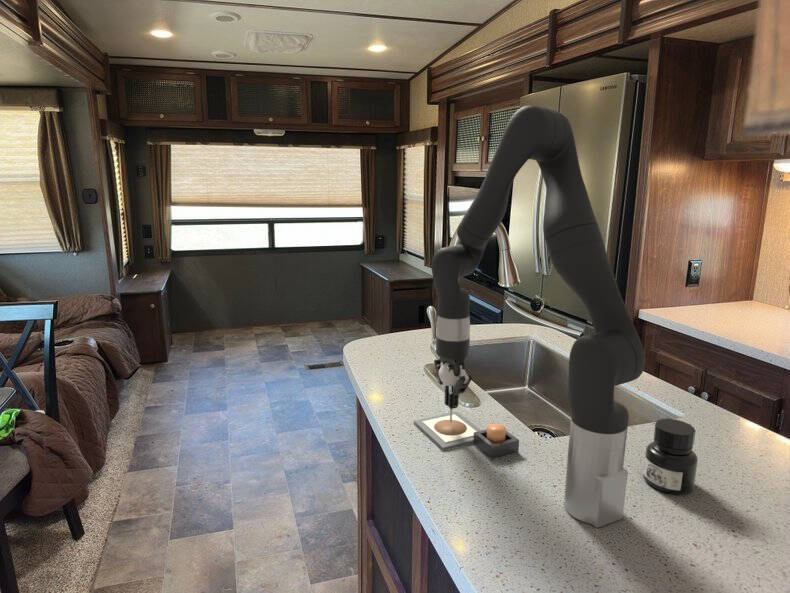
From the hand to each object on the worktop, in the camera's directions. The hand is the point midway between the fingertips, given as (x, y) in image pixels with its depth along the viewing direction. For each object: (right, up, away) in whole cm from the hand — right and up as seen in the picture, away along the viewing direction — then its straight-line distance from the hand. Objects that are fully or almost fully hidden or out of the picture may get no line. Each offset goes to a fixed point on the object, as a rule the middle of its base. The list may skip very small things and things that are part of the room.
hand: (451, 406), depth 123 cm
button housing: (+9, -8, -6) cm, 14 cm away
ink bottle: (+40, -11, -19) cm, 46 cm away
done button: (+9, -6, -7) cm, 13 cm away
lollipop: (0, -4, +1) cm, 4 cm away
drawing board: (0, -6, +2) cm, 6 cm away
